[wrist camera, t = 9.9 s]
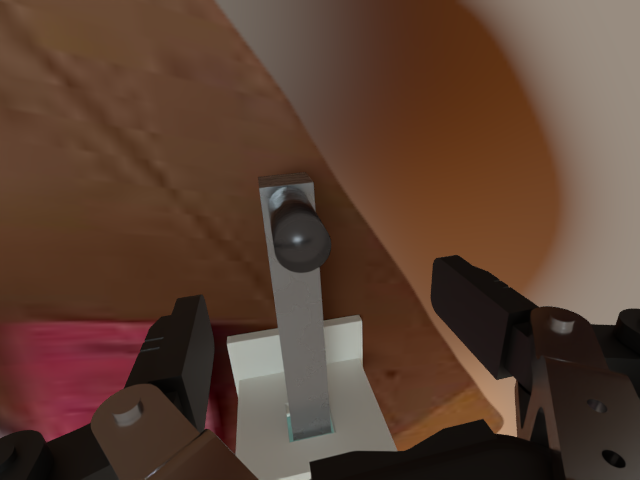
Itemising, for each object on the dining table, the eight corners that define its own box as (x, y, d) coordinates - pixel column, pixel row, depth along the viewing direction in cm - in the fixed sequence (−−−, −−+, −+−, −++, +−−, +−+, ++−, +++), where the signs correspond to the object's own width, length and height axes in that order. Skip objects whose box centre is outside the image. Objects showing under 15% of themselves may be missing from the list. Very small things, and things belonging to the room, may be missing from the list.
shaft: (289, 408, 35) (304, 527, 25) (258, 177, 25) (262, 222, 16) (323, 401, 35) (351, 515, 25) (305, 172, 26) (337, 213, 16)
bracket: (257, 477, 46) (258, 606, 34) (227, 336, 37) (215, 446, 25) (361, 453, 48) (397, 566, 37) (358, 314, 39) (405, 406, 27)
